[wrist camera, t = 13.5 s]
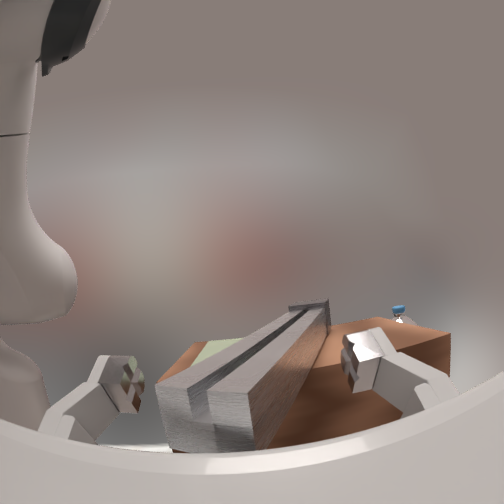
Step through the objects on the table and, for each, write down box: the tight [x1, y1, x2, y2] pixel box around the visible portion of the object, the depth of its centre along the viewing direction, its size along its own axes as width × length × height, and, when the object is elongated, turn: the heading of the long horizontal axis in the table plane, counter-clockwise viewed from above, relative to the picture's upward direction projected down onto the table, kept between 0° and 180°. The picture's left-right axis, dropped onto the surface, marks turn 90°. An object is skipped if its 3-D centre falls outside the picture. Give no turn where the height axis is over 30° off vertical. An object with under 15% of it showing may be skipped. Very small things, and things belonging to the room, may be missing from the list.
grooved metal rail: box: [155, 299, 331, 453], centre depth 16 cm, size 20×3×3 cm, turn 159°
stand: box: [157, 317, 451, 453], centre depth 19 cm, size 18×12×26 cm, turn 90°
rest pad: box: [190, 338, 243, 367], centre depth 20 cm, size 7×11×1 cm, turn 0°
